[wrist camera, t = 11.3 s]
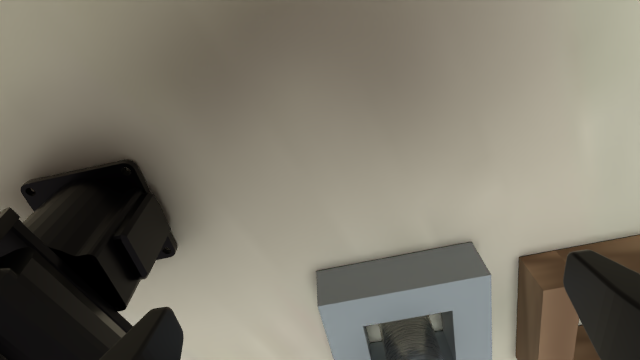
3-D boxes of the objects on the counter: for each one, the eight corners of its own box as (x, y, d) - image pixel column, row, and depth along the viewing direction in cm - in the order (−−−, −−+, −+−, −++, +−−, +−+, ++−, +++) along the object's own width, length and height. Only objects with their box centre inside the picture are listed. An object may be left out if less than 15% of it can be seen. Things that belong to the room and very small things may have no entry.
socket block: (344, 368, 31) (348, 406, 28) (316, 271, 26) (317, 306, 23) (475, 346, 30) (492, 383, 27) (471, 241, 25) (491, 274, 23)
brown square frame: (515, 356, 31) (535, 393, 28) (519, 257, 26) (543, 290, 23) (651, 333, 30) (684, 369, 27) (680, 227, 25) (724, 258, 23)
